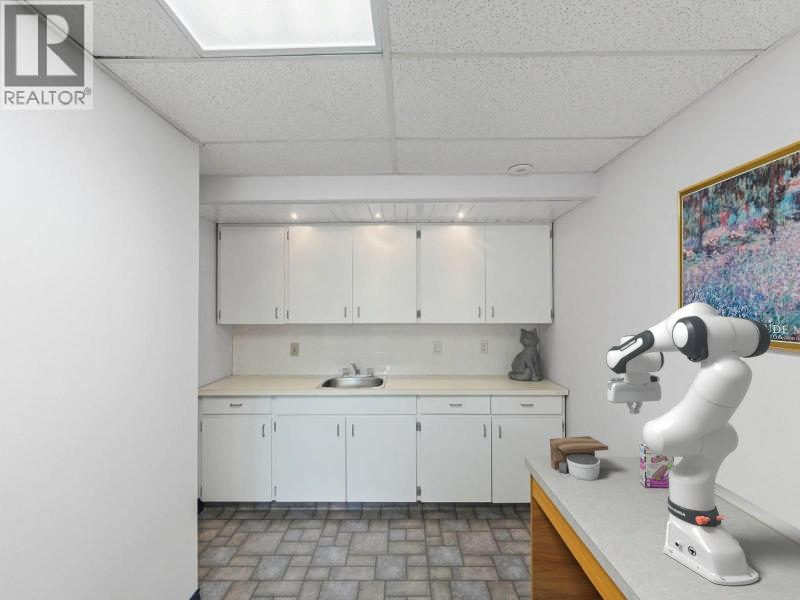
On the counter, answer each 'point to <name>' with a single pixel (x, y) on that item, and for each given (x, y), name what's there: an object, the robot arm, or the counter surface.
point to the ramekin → (583, 466)
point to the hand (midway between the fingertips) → (634, 413)
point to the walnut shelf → (572, 450)
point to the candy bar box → (654, 468)
